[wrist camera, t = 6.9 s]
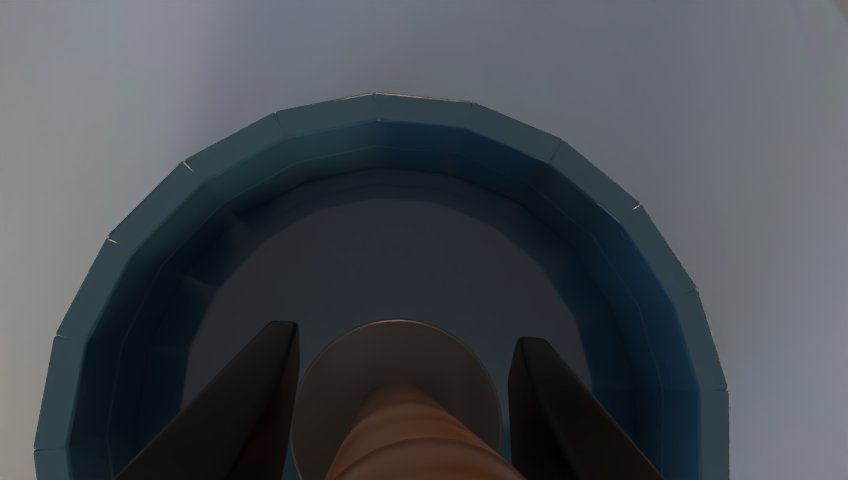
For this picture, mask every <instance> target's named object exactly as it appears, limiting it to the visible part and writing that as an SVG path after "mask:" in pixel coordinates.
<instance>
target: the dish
mask: <svg viewBox="0 0 848 480" xmlns="http://www.w3.org/2000/svg"><path fill="white" fill-rule="evenodd" d="M185 161H186V162H184V161H183V162H181V163H180V164H179V165H178V166H177V167H176V168H175V169H174V170H173V171H172V172H171V173H170V174H169V175H168V176H167V177H166V178H165V179H164V180H163V181H162V182H161V183H160V184H159V185H158V186H157V187H156V188H155V189H154V190H153V191H152V192H151V193H150V194H149V195H148V196H147V197H146V198H145V199H144V200H143V201H142V202H141V203H140V204H139V205H138V206H137V207H136V208H135V209H134V210H133V211H132V212H131V213H130V214H129V215H128V216H127V217H126V218H125V219H124V220H123V221H122V222H121V223H120V224H119V225H118V226H117V227H116V228H115V229H114V230H113V231H112V232H111V233H110V234H109V238H107V239H106V240H105V242H104V244H103V246H102V248H101V250H100V251H99V253H98V255H97V257H96V259H95V261H94V263H93V265H92V267H91V268H90V270H89V272H88V274H87V276H86V278H85V280H84V282H83V283H82V285H81V287H80V289H79V291H78V293H77V295H76V297H75V299H74V300H73V302H72V304H71V306H70V308H69V310H68V312H67V314H66V315H65V317H64V319H63V321H62V323H61V325H60V327H59V329H58V330H57V333H56V335H57V336H56V337H55V338H54V341H53V346H52V352H51V357H50V362H49V368H48V373H47V378H46V384H45V389H44V394H43V400H42V405H41V410H40V416H39V421H38V426H37V432H36V437H35V442H34V449H36V450H35V451H34V460H35V468H36V476H37V480H113V479H114V478H115V477H116V476H117V475H118V474H119V473H120V472H121V471H122V470H123V469H124V468H125V467H126V466H127V465H128V464H129V463H130V462H131V461H132V460H133V459H134V458H135V457H136V456H137V455H138V454H139V453H140V452H141V451H142V450H143V449H144V448H145V447H146V446H147V445H148V444H149V443H150V442H151V441H152V440H153V439H154V438H155V437H156V436H157V435H158V434H159V433H160V432H161V431H162V430H163V429H164V428H165V427H166V426H167V424H168V423H169V422H170V421H171V420H172V419H173V418H174V417H175V416H176V415H177V414H178V413H179V412H180V411H181V410H182V409H183V408H184V407H185V406H186V405H187V404H188V403H189V402H190V401H191V400H192V399H193V398H194V397H195V396H196V395H197V394H198V393H199V392H200V391H201V390H202V389H203V388H204V387H205V386H206V385H207V384H208V383H209V382H210V381H211V380H212V379H213V378H214V377H215V376H216V375H217V374H218V373H219V372H220V371H221V370H222V369H223V368H224V367H225V366H226V365H227V364H228V363H229V362H230V361H231V360H232V359H233V358H234V357H235V356H236V355H237V354H238V353H239V352H240V351H241V350H242V349H243V348H244V347H245V346H246V345H247V344H248V343H249V342H250V341H251V340H252V339H253V338H254V337H255V336H256V335H257V334H258V333H259V332H260V331H261V330H262V329H263V328H264V327H265V326H266V325H267V324H268V323H269V322H271V321H273V320H278V321H293V322H296V323H297V324H298V326H299V344H300V370H299V378H298V385H297V389H298V386H299V384H300V382H301V380H302V378H303V376H304V374H305V372H306V371H307V369H308V368H309V366H310V365H311V363H312V362H313V361H314V359H315V358H316V357H317V356H318V355H319V354H320V353H321V352H322V350H323V349H324V348H325V347H327V346H328V345H329V344H330V343H331V342H333V341H334V340H335V339H336V338H338V337H339V336H341V335H343V334H344V333H346V332H347V331H350V330H352V329H354V328H356V327H358V326H360V325H364V324H367V323H370V322H373V321H379V320H385V319H410V320H416V321H421V322H425V323H429V324H431V325H434V326H437V327H439V328H441V329H443V330H445V331H447V332H449V333H451V334H452V335H454V336H455V337H457V338H458V339H459V340H461V341H462V342H463V343H464V344H465V345H467V346H468V347H469V348H470V349H471V350H472V351H473V352H474V353H475V355H476V356H477V357H478V358H479V359H480V361H481V362H482V363H483V365H484V367H485V368H486V370H487V371H488V373H489V375H490V377H491V379H492V381H493V383H494V385H495V388H496V391H497V394H498V398H499V402H500V407H501V412H502V426H503V428H502V443H501V448H500V453H499V455H500V456H501V457H502V458H504V459H505V460H506V461H507V462H508V463H509V464H511V465H512V460H511V441H510V422H509V403H508V376H509V371H510V366H511V362H512V358H513V354H514V349H515V345H516V342H517V340H518V339H519V338H520V337H536V338H543V339H545V340H547V341H548V342H549V344H550V345H551V346H552V347H553V348H554V349H555V351H556V352H557V353H558V354H559V355H560V357H561V358H562V359H563V360H564V361H565V362H566V364H567V365H568V366H569V367H570V368H571V369H572V371H573V372H574V373H575V374H576V375H577V377H578V378H579V379H580V380H581V381H582V382H583V384H584V385H585V386H586V387H587V388H588V389H589V391H590V392H591V393H592V394H593V395H594V397H595V398H596V399H597V400H598V401H599V402H600V404H601V405H602V406H603V407H604V408H605V409H606V411H607V412H608V413H609V414H610V415H611V416H612V418H613V419H614V420H615V421H616V422H617V424H618V425H619V426H620V427H621V428H622V429H623V431H624V432H625V433H626V434H627V435H628V436H629V438H630V439H631V440H632V441H633V442H634V444H635V445H636V446H637V447H638V448H639V449H640V451H641V452H642V453H643V454H644V455H645V456H646V458H647V459H648V460H649V461H650V462H651V464H652V465H653V466H654V467H655V468H656V469H657V471H658V472H659V473H660V474H661V475H662V476H663V478H664V479H665V480H729V394H728V391H727V390H726V389H727V384H726V381H725V377H724V374H723V371H722V368H721V365H720V361H719V358H718V355H717V352H716V348H715V345H714V342H713V339H712V336H711V332H710V329H709V326H708V323H707V320H706V316H705V313H704V310H703V307H702V303H701V300H700V297H699V294H698V292H697V290H695V289H696V286H695V284H694V283H693V281H692V280H691V278H690V277H689V275H688V274H687V272H686V271H685V269H684V268H683V266H682V265H681V263H680V262H679V260H678V259H677V258H676V256H675V255H674V253H673V252H672V250H671V249H670V247H669V246H668V244H667V243H666V241H665V240H664V238H663V237H662V235H661V234H660V232H659V231H658V229H657V228H656V226H655V225H654V223H653V222H652V220H651V219H650V217H649V216H648V214H647V213H646V211H645V210H644V208H643V207H642V205H640V204H639V202H638V201H637V200H636V199H634V198H633V197H632V196H631V195H629V194H628V193H627V192H626V191H625V190H623V189H622V188H621V187H620V186H619V185H617V184H616V183H615V182H614V181H612V180H611V179H610V178H609V177H608V176H606V175H605V174H604V173H603V172H602V171H600V170H599V169H598V168H597V167H595V166H594V165H593V164H592V163H591V162H589V161H588V160H587V159H586V158H585V157H583V156H582V155H581V154H580V153H578V152H577V151H576V150H575V149H574V148H572V147H571V146H570V145H569V144H568V143H566V142H565V141H562V139H560V138H558V137H555V136H553V135H551V134H548V133H546V132H543V131H541V130H539V129H536V128H534V127H532V126H529V125H527V124H524V123H522V122H520V121H517V120H515V119H512V118H510V117H508V116H505V115H503V114H500V113H498V112H496V111H493V110H491V109H488V108H486V107H484V106H481V105H479V104H476V103H474V102H473V103H471V102H469V101H459V100H449V99H440V98H430V97H420V96H410V95H400V94H390V93H380V92H375V93H374V94H373V93H366V94H361V95H356V96H351V97H346V98H341V99H336V100H331V101H326V102H321V103H316V104H311V105H306V106H300V107H295V108H290V109H285V110H280V111H277V112H276V114H275V113H272V114H270V115H268V116H266V117H264V118H262V119H260V120H258V121H257V122H255V123H253V124H251V125H249V126H247V127H245V128H243V129H242V130H240V131H238V132H236V133H234V134H232V135H230V136H228V137H227V138H225V139H223V140H221V141H219V142H217V143H215V144H213V145H212V146H210V147H208V148H206V149H204V150H202V151H200V152H198V153H197V154H195V155H193V156H191V157H189V158H187V159H186V160H185ZM296 392H297V391H296ZM281 480H301V479H300V477H299V475H298V472H297V470H296V467H295V464H294V460H293V456H292V452H291V445H290V437H289V443H288V449H287V455H286V460H285V466H284V470H283V474H282V478H281Z"/></svg>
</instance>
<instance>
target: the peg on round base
mask: <svg viewBox="0 0 848 480" xmlns="http://www.w3.org/2000/svg"><path fill="white" fill-rule="evenodd" d="M502 428H503V426H502V412H501V407H500V402H499V398H498V394H497V391H496V388H495V385H494V383H493V381H492V379H491V377H490V375H489V373H488V371H487V370H486V368H485V367H484V365H483V363H482V362H481V361H480V359H479V358H478V357H477V356H476V355H475V353H474V352H473V351H472V350H471V349H470V348H469V347H468V346H467V345H465V344H464V343H463V342H462V341H461V340H459V339H458V338H457V337H455V336H454V335H452V334H451V333H449V332H447V331H445V330H443V329H441V328H439V327H437V326H434V325H431V324H429V323H425V322H421V321H416V320H410V319H385V320H379V321H373V322H370V323H367V324H364V325H360V326H358V327H356V328H354V329H352V330H350V331H347V332H346V333H344V334H343V335H341V336H339V337H338V338H336V339H335V340H334V341H333V342H331V343H330V344H329V345H328V346H327V347H325V348H324V349H323V350H322V352H321V353H320V354H319V355H318V356H317V357H316V358H315V359H314V361H313V362H312V363H311V365H310V366H309V368H308V369H307V371H306V372H305V374H304V376H303V378H302V380H301V382H300V384H299V386H298V389H297V392H296V398H295V404H294V411H293V417H292V424H291V430H290V445H291V452H292V456H293V460H294V464H295V467H296V470H297V472H298V475H299V477H300V479H301V480H527V479H526V478H525V477H524V476H523V475H522V474H521V473H519V472H518V471H517V470H516V469H515V468H514V467H513V466H512V465H511V464H509V463H508V462H507V461H506V460H505V459H504V458H502V457H501V456H500V455H499V453H500V448H501V443H502Z"/></svg>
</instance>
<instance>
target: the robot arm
mask: <svg viewBox="0 0 848 480" xmlns="http://www.w3.org/2000/svg"><path fill="white" fill-rule="evenodd" d="M299 370H300V344H299V326H298V324H297V323H296V322H293V321H278V320H273V321H271V322H269V323H268V324H267V325H266V326H265V327H264V328H263V329H262V330H261V331H260V332H259V333H258V334H257V335H256V336H255V337H254V338H253V339H252V340H251V341H250V342H249V343H248V344H247V345H246V346H245V347H244V348H243V349H242V350H241V351H240V352H239V353H238V354H237V355H236V356H235V357H234V358H233V359H232V360H231V361H230V362H229V363H228V364H227V365H226V366H225V367H224V368H223V369H222V370H221V371H220V372H219V373H218V374H217V375H216V376H215V377H214V378H213V379H212V380H211V381H210V382H209V383H208V384H207V385H206V386H205V387H204V388H203V389H202V390H201V391H200V392H199V393H198V394H197V395H196V396H195V397H194V398H193V399H192V400H191V401H190V402H189V403H188V404H187V405H186V406H185V407H184V408H183V409H182V410H181V411H180V412H179V413H178V414H177V415H176V416H175V417H174V418H173V419H172V420H171V421H170V422H169V423H168V424H167V426H166V427H165V428H164V429H163V430H162V431H161V432H160V433H159V434H158V435H157V436H156V437H155V438H154V439H153V440H152V441H151V442H150V443H149V444H148V445H147V446H146V447H145V448H144V449H143V450H142V451H141V452H140V453H139V454H138V455H137V456H136V457H135V458H134V459H133V460H132V461H131V462H130V463H129V464H128V465H127V466H126V467H125V468H124V469H123V470H122V471H121V472H120V473H119V474H118V475H117V476H116V477H115V478H114V479H113V480H281V478H282V474H283V470H284V466H285V460H286V455H287V449H288V443H289V437H290V430H291V424H292V417H293V411H294V404H295V398H296V391H297V385H298V378H299ZM508 403H509V422H510V441H511V460H512V466H513V467H514V468H515V469H516V470H517V471H518V472H519V473H521V474H522V475H523V476H524V477H525V478H526V479H527V480H665V479H664V478H663V476H662V475H661V474H660V473H659V472H658V471H657V469H656V468H655V467H654V466H653V465H652V464H651V462H650V461H649V460H648V459H647V458H646V456H645V455H644V454H643V453H642V452H641V451H640V449H639V448H638V447H637V446H636V445H635V444H634V442H633V441H632V440H631V439H630V438H629V436H628V435H627V434H626V433H625V432H624V431H623V429H622V428H621V427H620V426H619V425H618V424H617V422H616V421H615V420H614V419H613V418H612V416H611V415H610V414H609V413H608V412H607V411H606V409H605V408H604V407H603V406H602V405H601V404H600V402H599V401H598V400H597V399H596V398H595V397H594V395H593V394H592V393H591V392H590V391H589V389H588V388H587V387H586V386H585V385H584V384H583V382H582V381H581V380H580V379H579V378H578V377H577V375H576V374H575V373H574V372H573V371H572V369H571V368H570V367H569V366H568V365H567V364H566V362H565V361H564V360H563V359H562V358H561V357H560V355H559V354H558V353H557V352H556V351H555V349H554V348H553V347H552V346H551V345H550V344H549V342H548V341H547V340H545V339H543V338H536V337H520V338H519V339H518V340H517V342H516V345H515V349H514V354H513V358H512V362H511V366H510V371H509V376H508Z"/></svg>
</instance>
